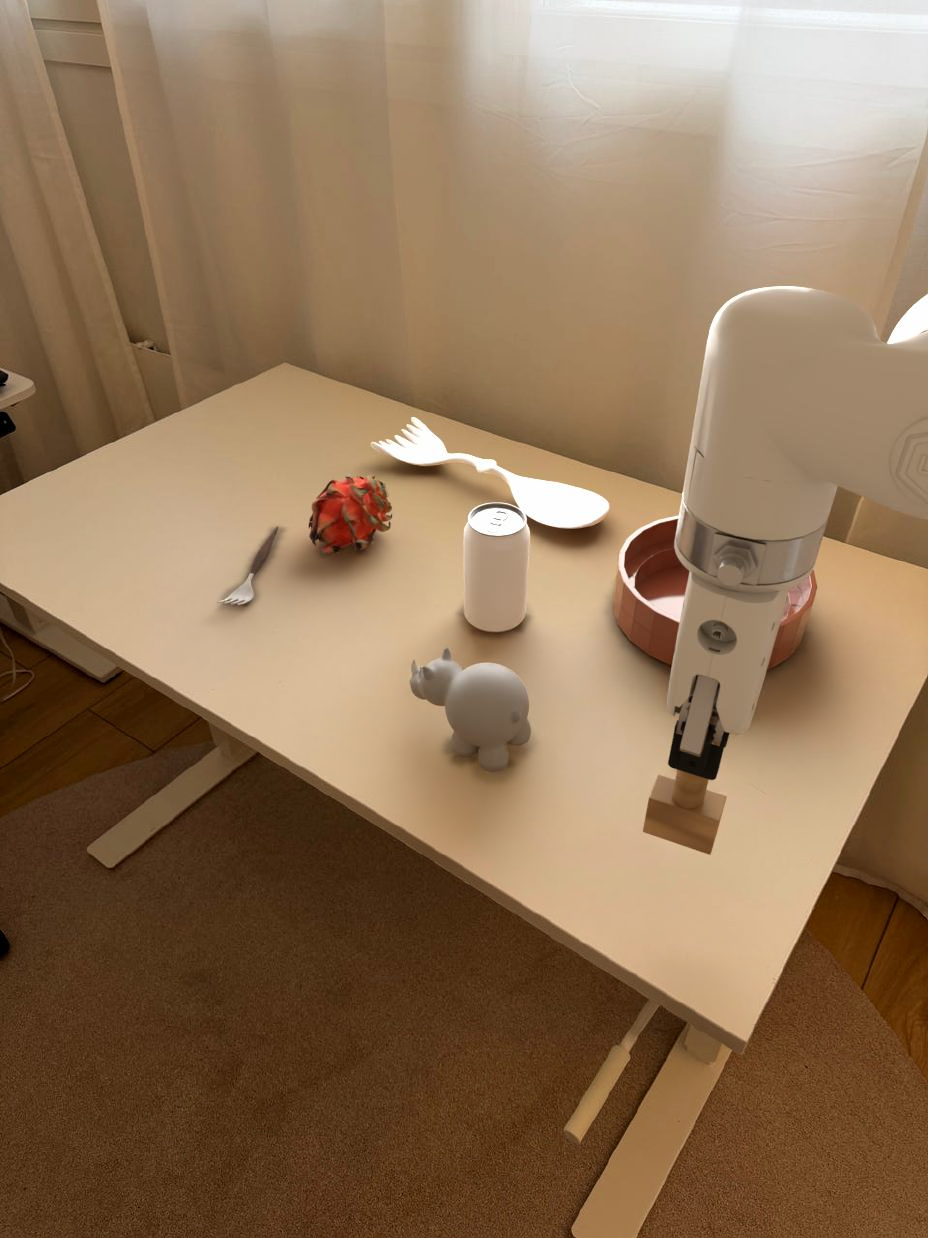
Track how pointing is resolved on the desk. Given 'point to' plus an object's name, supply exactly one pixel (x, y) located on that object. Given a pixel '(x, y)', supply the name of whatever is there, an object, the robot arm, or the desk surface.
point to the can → (495, 567)
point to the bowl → (681, 595)
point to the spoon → (531, 495)
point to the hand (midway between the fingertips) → (697, 753)
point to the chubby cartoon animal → (477, 706)
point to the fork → (251, 575)
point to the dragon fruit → (349, 513)
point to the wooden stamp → (684, 810)
